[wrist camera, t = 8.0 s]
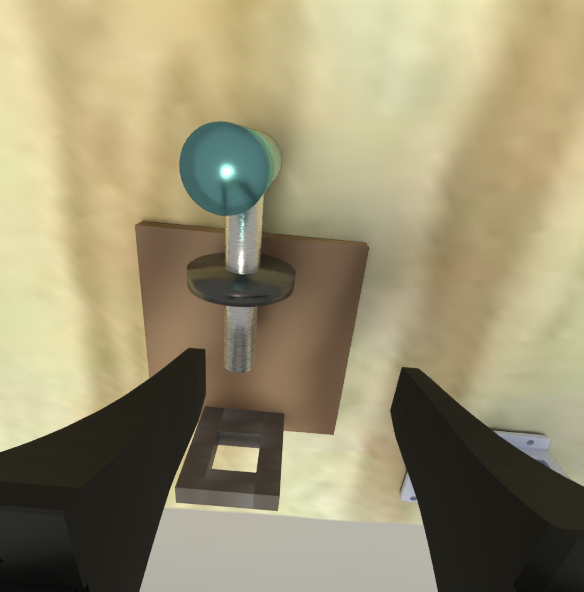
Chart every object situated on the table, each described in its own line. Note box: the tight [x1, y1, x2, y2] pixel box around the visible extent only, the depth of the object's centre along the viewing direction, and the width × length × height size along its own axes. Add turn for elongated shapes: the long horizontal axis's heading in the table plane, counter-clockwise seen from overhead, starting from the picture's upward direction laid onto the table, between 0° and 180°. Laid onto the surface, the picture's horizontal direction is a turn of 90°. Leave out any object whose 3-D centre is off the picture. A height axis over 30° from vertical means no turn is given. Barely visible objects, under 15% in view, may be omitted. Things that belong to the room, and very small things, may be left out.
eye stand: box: [135, 221, 369, 511], centre depth 19 cm, size 13×14×7 cm
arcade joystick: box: [179, 122, 296, 373], centre depth 15 cm, size 5×11×8 cm, turn 175°
